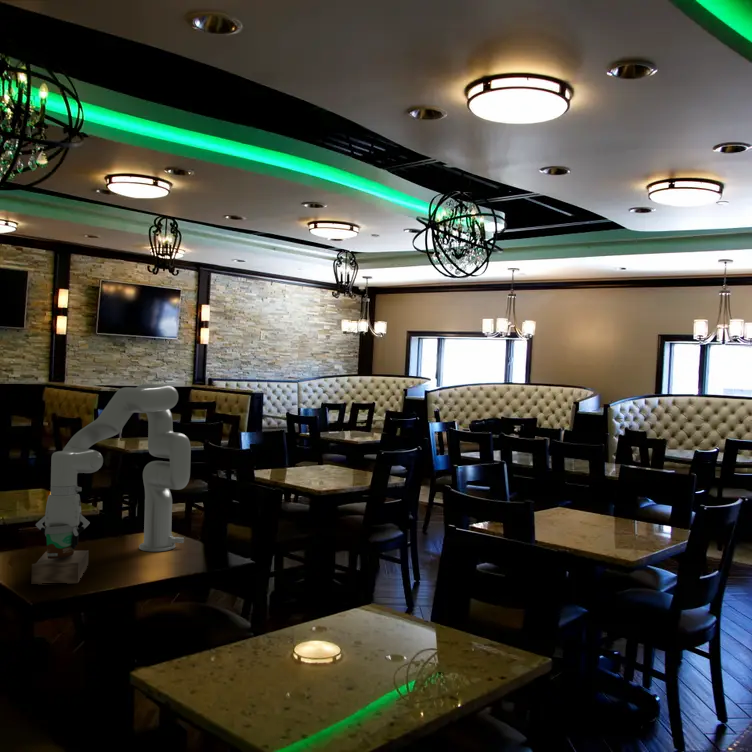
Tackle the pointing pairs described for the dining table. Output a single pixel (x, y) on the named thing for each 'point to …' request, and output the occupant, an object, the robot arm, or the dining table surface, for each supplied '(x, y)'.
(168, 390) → the robot arm
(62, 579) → the brown rectangular block
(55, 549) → the food container
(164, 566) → the dining table surface
